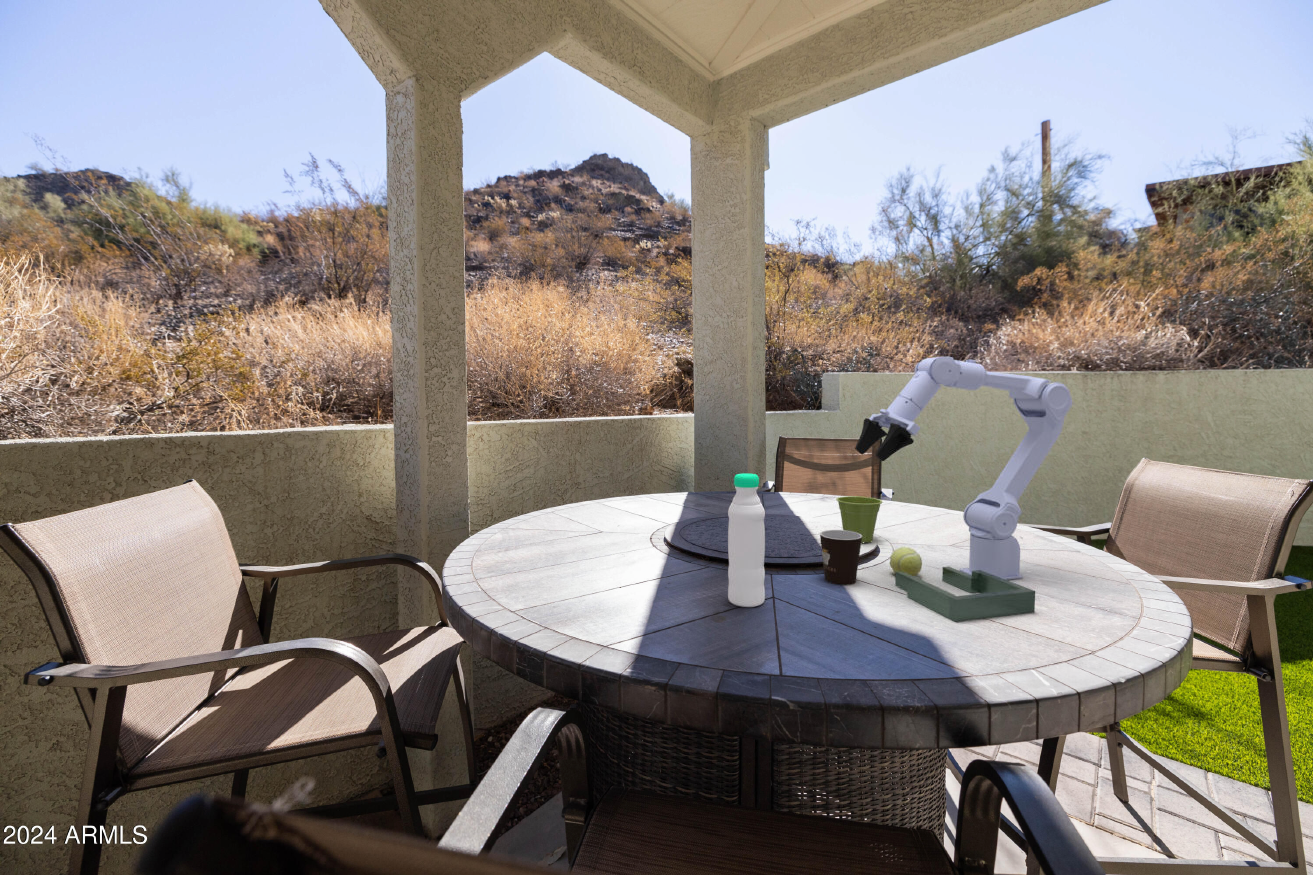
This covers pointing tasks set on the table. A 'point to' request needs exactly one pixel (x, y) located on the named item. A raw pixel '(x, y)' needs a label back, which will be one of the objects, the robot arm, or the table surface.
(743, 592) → the water bottle
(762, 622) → the table surface
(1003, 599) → the chute bay
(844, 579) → the coffee mug
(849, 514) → the plant pot
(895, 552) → the tennis ball
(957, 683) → the table surface
